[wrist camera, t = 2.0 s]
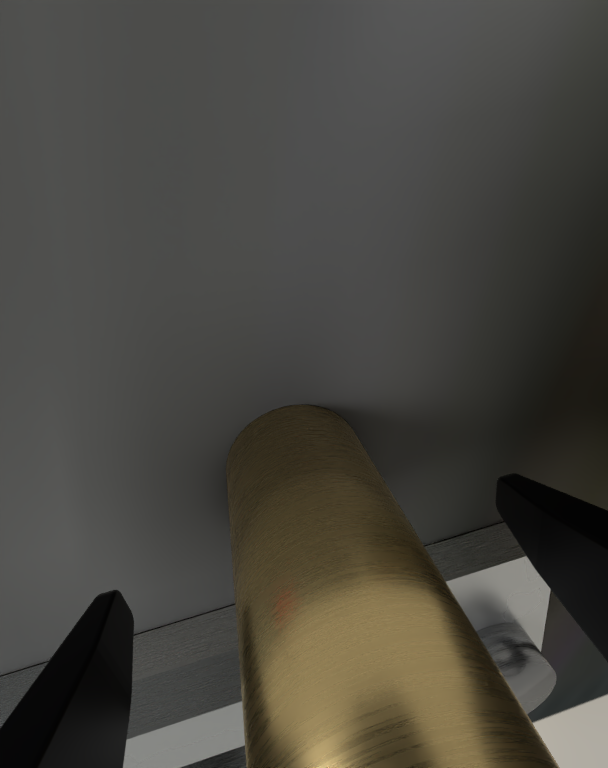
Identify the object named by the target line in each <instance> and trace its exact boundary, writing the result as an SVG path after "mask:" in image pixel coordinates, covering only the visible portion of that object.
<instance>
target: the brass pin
mask: <svg viewBox="0 0 608 768" xmlns="http://www.w3.org/2000/svg"><path fill="white" fill-rule="evenodd" d="M226 476H227V490H228V505H229V520H230V534H231V549H232V563H233V578H234V592H235V607H236V621H237V636H238V651H239V665H240V680H241V694H242V709H243V723H244V738H245V752H246V767H247V768H559V766H558V765H557V763H556V761H555V760H554V758H553V756H552V755H551V753H550V752H549V750H548V748H547V747H546V745H545V743H544V742H543V740H542V738H541V737H540V735H539V734H538V732H537V730H536V729H535V727H534V725H533V724H532V722H531V720H530V719H529V717H528V716H527V714H526V712H525V711H524V709H523V707H522V706H521V704H520V702H519V701H518V699H517V698H516V696H515V694H514V693H513V691H512V689H511V688H510V686H509V685H508V683H507V681H506V680H505V678H504V676H503V675H502V673H501V671H500V670H499V668H498V667H497V665H496V663H495V662H494V660H493V658H492V657H491V655H490V653H489V652H488V650H487V649H486V647H485V645H484V644H483V642H482V640H481V639H480V637H479V635H478V634H477V632H476V631H475V629H474V627H473V626H472V624H471V622H470V621H469V619H468V617H467V616H466V614H465V613H464V611H463V609H462V608H461V606H460V604H459V603H458V601H457V599H456V598H455V596H454V595H453V593H452V591H451V590H450V588H449V586H448V585H447V583H446V582H445V580H444V578H443V577H442V575H441V573H440V572H439V570H438V568H437V567H436V565H435V564H434V562H433V560H432V559H431V557H430V555H429V554H428V552H427V550H426V549H425V547H424V546H423V544H422V542H421V541H420V539H419V537H418V536H417V534H416V532H415V531H414V529H413V528H412V526H411V524H410V523H409V521H408V519H407V518H406V516H405V514H404V513H403V511H402V510H401V508H400V506H399V505H398V503H397V501H396V500H395V498H394V496H393V495H392V493H391V492H390V490H389V488H388V487H387V485H386V483H385V482H384V480H383V479H382V477H381V475H380V474H379V472H378V470H377V469H376V467H375V465H374V464H373V462H372V461H371V459H370V457H369V456H368V454H367V452H366V451H365V449H364V447H363V446H362V444H361V443H360V441H359V439H358V438H357V436H356V434H355V433H354V431H353V429H352V428H351V427H350V425H349V424H348V423H347V422H346V421H345V420H344V419H343V418H342V417H340V416H339V415H337V414H336V413H334V412H332V411H330V410H327V409H324V408H321V407H317V406H311V405H293V406H287V407H282V408H279V409H276V410H273V411H270V412H268V413H266V414H264V415H262V416H260V417H259V418H257V419H255V420H254V421H253V422H252V423H250V424H249V425H248V426H247V427H246V428H245V429H244V430H243V431H242V432H241V433H240V434H239V436H238V437H237V438H236V440H235V441H234V443H233V445H232V447H231V449H230V452H229V454H228V458H227V464H226Z"/></svg>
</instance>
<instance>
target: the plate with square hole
mask: <svg viewBox="0 0 608 768" xmlns="http://www.w3.org/2000/svg"><path fill="white" fill-rule="evenodd" d="M425 549H426V550H427V552H428V554H429V555H430V557H431V559H432V560H433V562H434V564H435V565H436V567H437V568H438V570H439V572H440V573H441V575H442V577H443V578H444V580H445V582H446V583H447V585H448V586H449V588H450V590H451V591H452V593H453V595H454V596H455V598H456V599H457V601H458V603H459V604H460V606H461V608H462V609H463V611H464V613H465V614H466V616H467V617H468V619H469V621H470V622H471V624H472V626H473V627H474V629H475V631H476V632H477V634H478V635H479V637H480V639H481V640H482V642H483V644H484V645H485V647H486V649H487V650H488V652H489V653H490V655H491V657H492V658H493V660H494V662H495V663H496V665H497V667H498V668H499V670H500V671H501V673H502V675H503V676H504V678H505V680H506V681H507V683H508V685H509V686H510V688H511V689H512V691H513V693H514V694H515V696H516V698H517V699H518V701H519V702H520V704H521V706H522V707H523V709H524V711H525V712H526V714H528V713H529V712H531V711H532V710H534V709H535V708H536V707H538V706H539V705H540V704H541V703H542V702H543V701H544V700H545V699H546V698H547V697H548V696H549V694H550V693H551V692H552V690H553V688H554V686H555V683H556V673H555V671H554V670H553V669H552V667H551V666H550V664H549V663H548V662H547V660H546V659H545V658H544V656H543V655H542V653H541V647H542V641H543V635H544V628H545V622H546V616H547V609H548V603H549V596H550V590H551V589H550V588H549V587H548V585H547V584H546V583H545V581H544V580H543V579H542V578H541V576H540V575H539V574H538V572H537V571H536V570H535V568H534V567H533V565H532V564H531V562H530V561H529V559H528V558H527V556H526V554H525V553H524V551H523V550H522V548H521V547H520V545H519V544H518V542H517V540H516V539H515V537H514V536H513V534H512V533H511V531H510V529H509V528H508V526H507V525H506V523H505V522H504V523H501V524H497V525H494V526H491V527H487V528H484V529H481V530H478V531H474V532H471V533H468V534H465V535H461V536H458V537H455V538H452V539H448V540H445V541H442V542H438V543H435V544H432V545H429V546H425ZM47 663H48V662H47ZM47 663H44V664H40V665H37V666H34V667H31V668H27V669H24V670H21V671H17V672H14V673H11V674H8V675H4V676H1V677H0V727H1V726H2V725H3V723H4V722H5V721H6V719H7V718H8V717H9V715H10V714H11V712H12V711H13V710H14V708H15V707H16V706H17V704H18V703H19V702H20V700H21V699H22V697H23V696H24V695H25V693H26V692H27V691H28V689H29V688H30V686H31V685H32V684H33V682H34V681H35V680H36V678H37V677H38V676H39V674H40V673H41V671H42V670H43V669H44V667H45V666H46V665H47ZM123 768H247V767H246V752H245V738H244V723H243V709H242V694H241V680H240V665H239V651H238V636H237V621H236V607H235V605H233V606H230V607H226V608H223V609H220V610H217V611H213V612H210V613H207V614H204V615H200V616H197V617H194V618H190V619H187V620H184V621H181V622H177V623H174V624H171V625H168V626H164V627H161V628H158V629H155V630H151V631H148V632H145V633H142V634H138V635H135V636H133V671H132V698H131V709H130V717H129V725H128V733H127V740H126V748H125V756H124V764H123Z"/></svg>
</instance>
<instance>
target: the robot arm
mask: <svg viewBox="0 0 608 768" xmlns="http://www.w3.org/2000/svg"><path fill="white" fill-rule="evenodd" d="M496 507H497V510H498V512H499V514H500V515H501V517H502V518H503V520H504V522H505V523H506V525H507V526H508V528H509V529H510V531H511V533H512V534H513V536H514V537H515V539H516V540H517V542H518V544H519V545H520V547H521V548H522V550H523V551H524V553H525V554H526V556H527V558H528V559H529V561H530V562H531V564H532V565H533V567H534V568H535V570H536V571H537V572H538V574H539V575H540V576H541V578H542V579H543V580H544V581H545V583H546V584H547V585H548V587H549V588H550V589H551V590H552V592H553V593H554V594H555V596H556V597H557V598H558V599H559V601H560V602H561V603H562V604H563V606H564V607H565V608H566V610H567V611H568V612H569V613H570V615H571V616H572V617H573V618H574V620H575V621H576V622H577V624H578V625H579V626H580V627H581V629H582V630H583V631H584V633H585V634H586V635H587V636H588V638H589V639H590V640H591V641H592V643H593V644H594V645H595V647H596V648H597V649H598V650H599V652H600V653H601V654H602V656H603V657H604V658H605V659H606V661H607V662H608V511H607V510H605V509H602V508H600V507H597V506H595V505H592V504H590V503H588V502H585V501H583V500H580V499H578V498H575V497H573V496H570V495H568V494H565V493H563V492H560V491H558V490H555V489H553V488H551V487H548V486H546V485H543V484H541V483H538V482H536V481H533V480H531V479H528V478H526V477H523V476H521V475H519V474H515V473H513V474H509V475H505V476H502V477H499V478H498V480H497V487H496ZM133 634H134V620H133V615H132V612H131V610H130V608H129V607H128V605H127V603H126V601H125V599H124V598H123V596H122V594H121V593H120V591H118V590H112V591H109V592H106V593H102V594H100V595H98V596H97V597H96V598H95V599H94V600H93V602H92V603H91V604H90V606H89V607H88V609H87V610H86V611H85V613H84V614H83V615H82V617H81V618H80V619H79V621H78V622H77V624H76V625H75V626H74V628H73V629H72V630H71V632H70V633H69V635H68V636H67V637H66V639H65V640H64V641H63V643H62V644H61V645H60V647H59V648H58V650H57V651H56V652H55V654H54V655H53V656H52V658H51V659H50V660H49V662H48V663H47V665H46V666H45V667H44V669H43V670H42V671H41V673H40V674H39V676H38V677H37V678H36V680H35V681H34V682H33V684H32V685H31V686H30V688H29V689H28V691H27V692H26V693H25V695H24V696H23V697H22V699H21V700H20V702H19V703H18V704H17V706H16V707H15V708H14V710H13V711H12V712H11V714H10V715H9V717H8V718H7V719H6V721H5V722H4V723H3V725H2V726H1V727H0V768H123V764H124V756H125V748H126V740H127V733H128V725H129V717H130V709H131V698H132V671H133Z"/></svg>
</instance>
